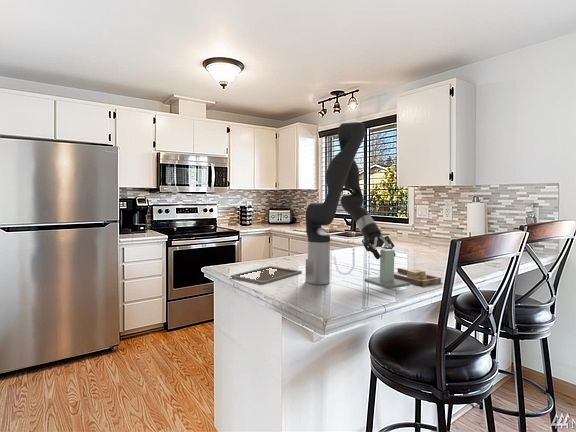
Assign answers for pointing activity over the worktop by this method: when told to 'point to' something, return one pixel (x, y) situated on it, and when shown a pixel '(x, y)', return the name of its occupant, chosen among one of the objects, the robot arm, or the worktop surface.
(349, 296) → the worktop surface
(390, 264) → the sage green block
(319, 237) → the robot arm
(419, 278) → the oak offcut stack
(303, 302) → the worktop surface
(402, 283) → the slate tile
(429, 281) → the walnut rack
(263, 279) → the dark grey tray
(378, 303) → the worktop surface
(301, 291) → the worktop surface
